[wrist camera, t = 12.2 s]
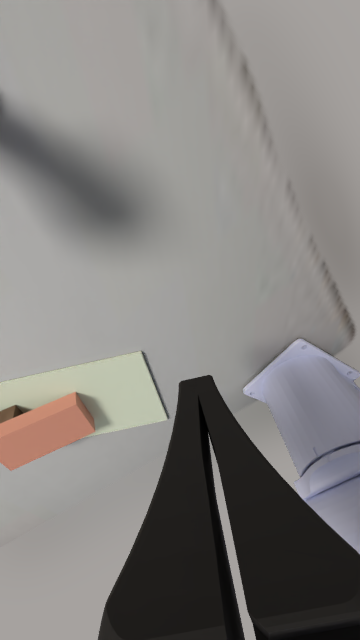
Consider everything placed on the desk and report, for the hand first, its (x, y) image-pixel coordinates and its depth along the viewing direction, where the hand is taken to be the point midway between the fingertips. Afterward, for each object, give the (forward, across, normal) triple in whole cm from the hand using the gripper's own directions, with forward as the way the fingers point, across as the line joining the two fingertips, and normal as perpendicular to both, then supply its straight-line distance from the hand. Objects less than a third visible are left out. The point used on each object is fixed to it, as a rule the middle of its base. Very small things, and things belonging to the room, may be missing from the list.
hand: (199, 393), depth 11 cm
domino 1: (+9, +11, +10) cm, 18 cm away
